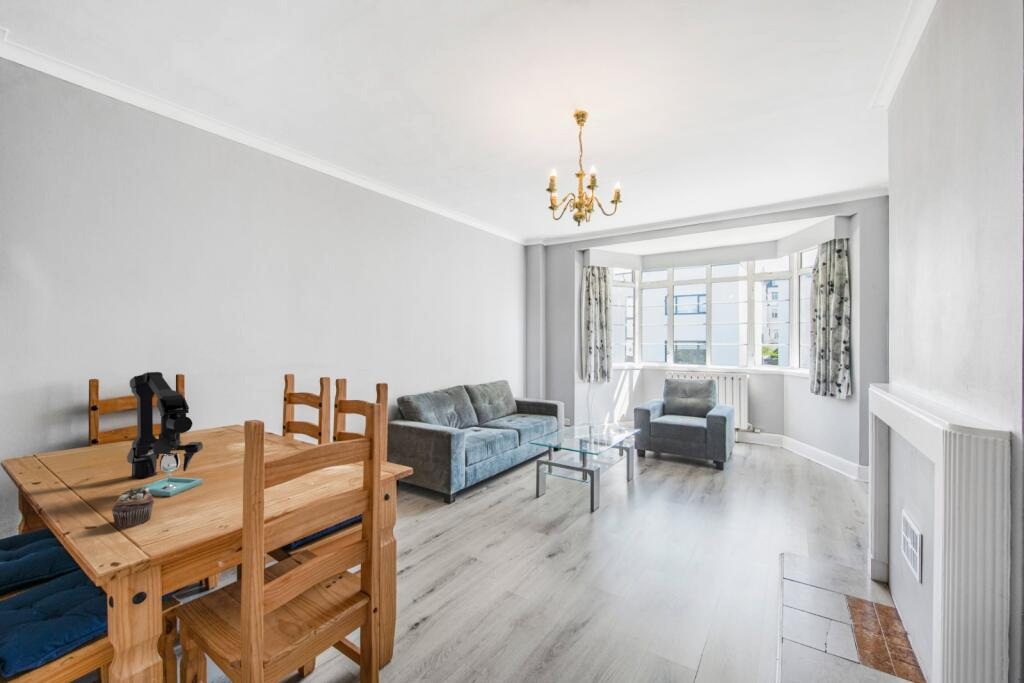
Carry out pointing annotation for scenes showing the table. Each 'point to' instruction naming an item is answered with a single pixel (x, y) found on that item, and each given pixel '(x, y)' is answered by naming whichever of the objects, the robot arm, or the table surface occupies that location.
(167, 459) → the wineglass
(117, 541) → the table surface
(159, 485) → the tray
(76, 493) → the table surface
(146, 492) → the cupcake
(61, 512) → the table surface
